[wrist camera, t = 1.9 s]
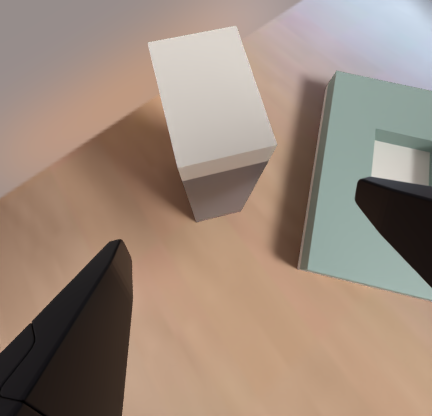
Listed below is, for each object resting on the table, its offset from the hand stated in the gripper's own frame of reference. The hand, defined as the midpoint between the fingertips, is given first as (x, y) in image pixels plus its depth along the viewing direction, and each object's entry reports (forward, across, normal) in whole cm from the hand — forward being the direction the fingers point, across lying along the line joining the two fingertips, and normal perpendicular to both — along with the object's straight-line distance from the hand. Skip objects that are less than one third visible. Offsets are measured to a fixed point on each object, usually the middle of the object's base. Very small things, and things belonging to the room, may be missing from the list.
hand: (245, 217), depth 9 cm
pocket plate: (+9, -16, +8) cm, 20 cm away
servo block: (+12, 0, +5) cm, 13 cm away
